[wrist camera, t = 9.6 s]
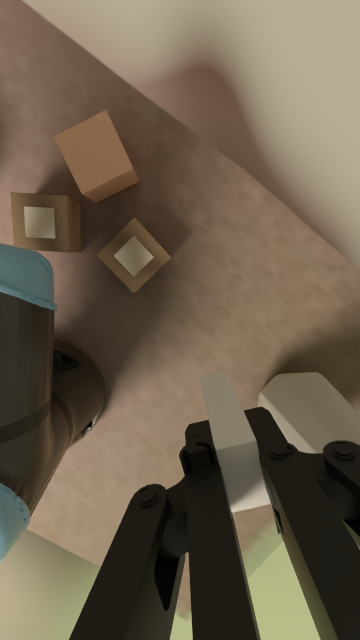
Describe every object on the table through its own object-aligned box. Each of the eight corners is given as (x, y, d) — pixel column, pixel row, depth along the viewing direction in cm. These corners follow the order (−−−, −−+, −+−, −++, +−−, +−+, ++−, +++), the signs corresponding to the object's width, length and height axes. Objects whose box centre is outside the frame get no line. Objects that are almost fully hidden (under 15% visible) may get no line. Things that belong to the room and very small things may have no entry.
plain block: (96, 203, 38) (81, 194, 32) (72, 155, 37) (53, 136, 31) (139, 181, 38) (133, 168, 32) (117, 132, 36) (106, 109, 31)
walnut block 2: (138, 288, 40) (133, 293, 35) (106, 254, 39) (95, 255, 34) (171, 257, 40) (171, 257, 35) (139, 221, 39) (133, 217, 34)
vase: (257, 448, 46) (453, 911, 14) (234, 379, 43) (405, 745, 11) (336, 422, 45) (740, 846, 13) (317, 352, 43) (754, 655, 10)
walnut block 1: (34, 249, 39) (13, 249, 34) (31, 200, 38) (9, 192, 33) (81, 252, 39) (67, 251, 34) (80, 202, 38) (66, 195, 33)
